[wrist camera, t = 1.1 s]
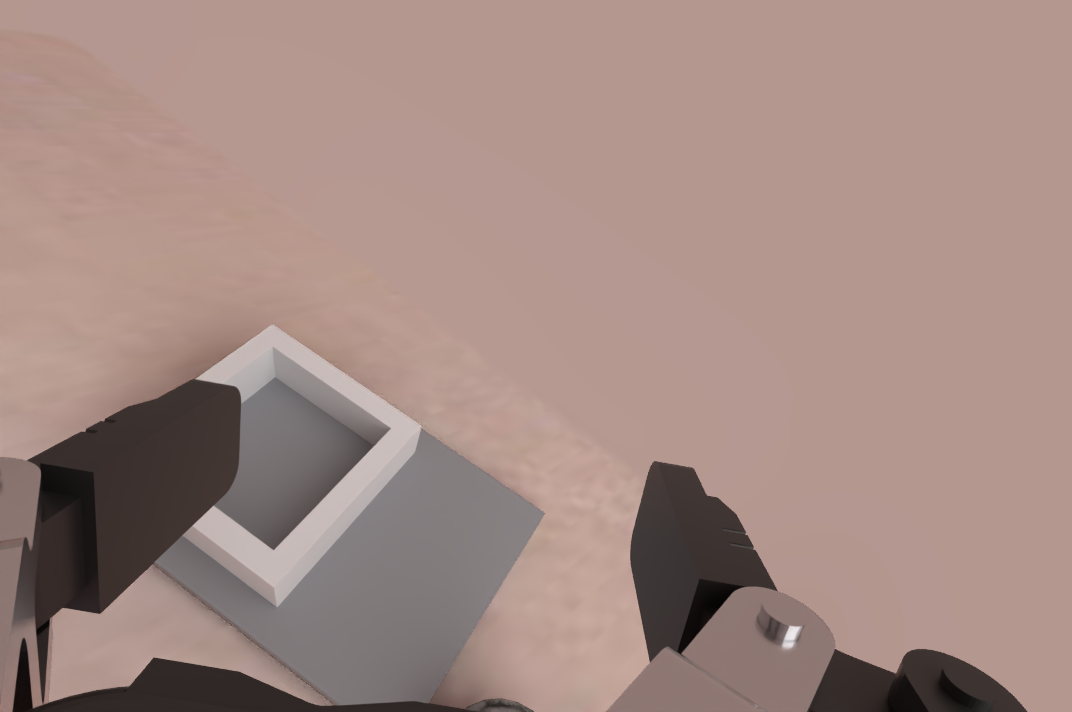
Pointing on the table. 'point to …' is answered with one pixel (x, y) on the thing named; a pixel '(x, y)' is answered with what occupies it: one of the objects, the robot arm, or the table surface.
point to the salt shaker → (498, 706)
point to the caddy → (347, 532)
